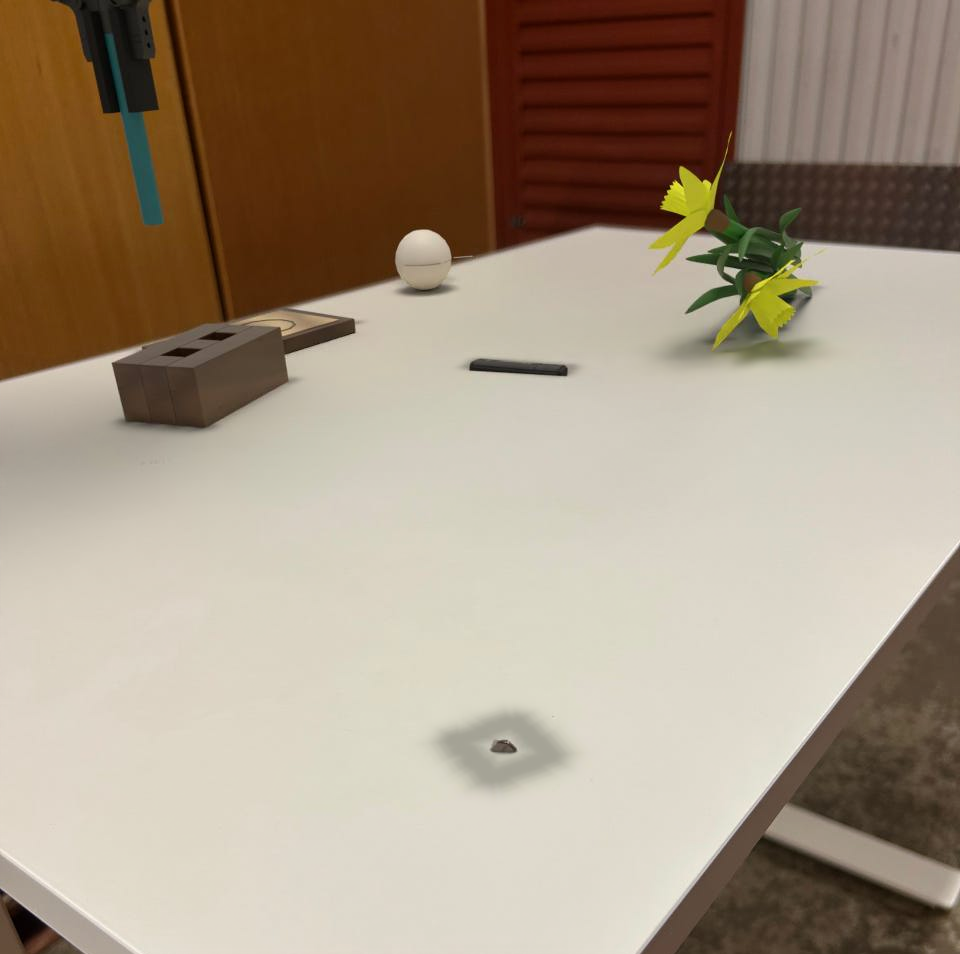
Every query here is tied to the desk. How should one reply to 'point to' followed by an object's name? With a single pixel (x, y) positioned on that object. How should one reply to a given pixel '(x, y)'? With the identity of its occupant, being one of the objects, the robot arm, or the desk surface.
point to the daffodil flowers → (757, 273)
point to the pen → (133, 133)
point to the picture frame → (299, 327)
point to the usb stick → (517, 367)
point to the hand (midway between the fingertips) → (131, 111)
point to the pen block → (201, 374)
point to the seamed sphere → (423, 259)
